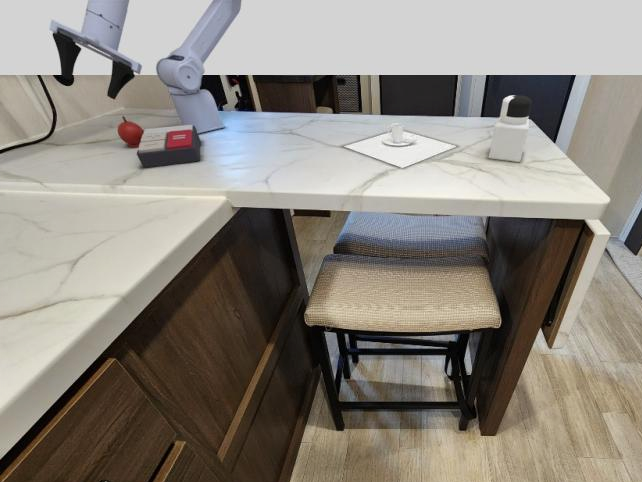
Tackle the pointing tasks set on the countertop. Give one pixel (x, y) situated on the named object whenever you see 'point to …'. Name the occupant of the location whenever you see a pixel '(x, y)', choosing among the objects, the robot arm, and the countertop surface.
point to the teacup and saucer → (400, 147)
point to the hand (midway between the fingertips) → (88, 88)
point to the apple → (130, 133)
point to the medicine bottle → (511, 129)
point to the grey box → (169, 146)
